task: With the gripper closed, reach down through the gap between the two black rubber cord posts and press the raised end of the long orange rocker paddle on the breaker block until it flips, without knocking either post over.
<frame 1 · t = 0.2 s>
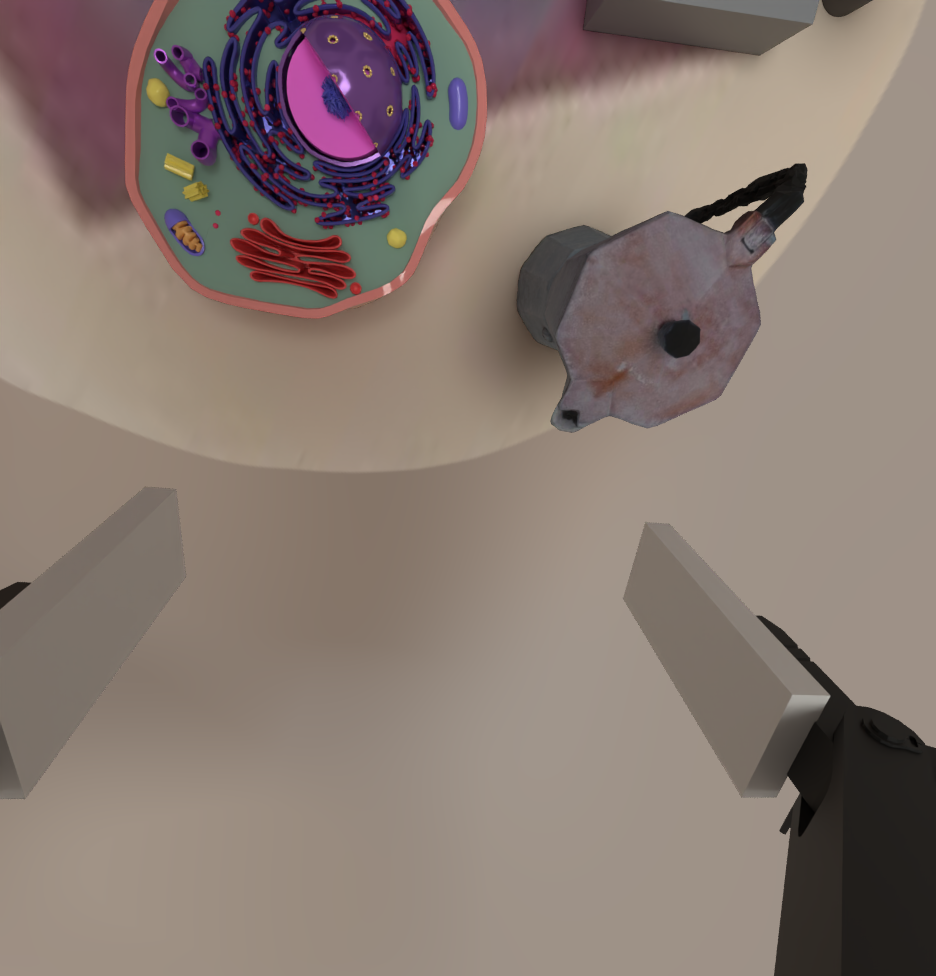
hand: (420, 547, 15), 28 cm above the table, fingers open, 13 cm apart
moka pot: (573, 286, 39), on the table
cell model: (327, 168, 35), on the table
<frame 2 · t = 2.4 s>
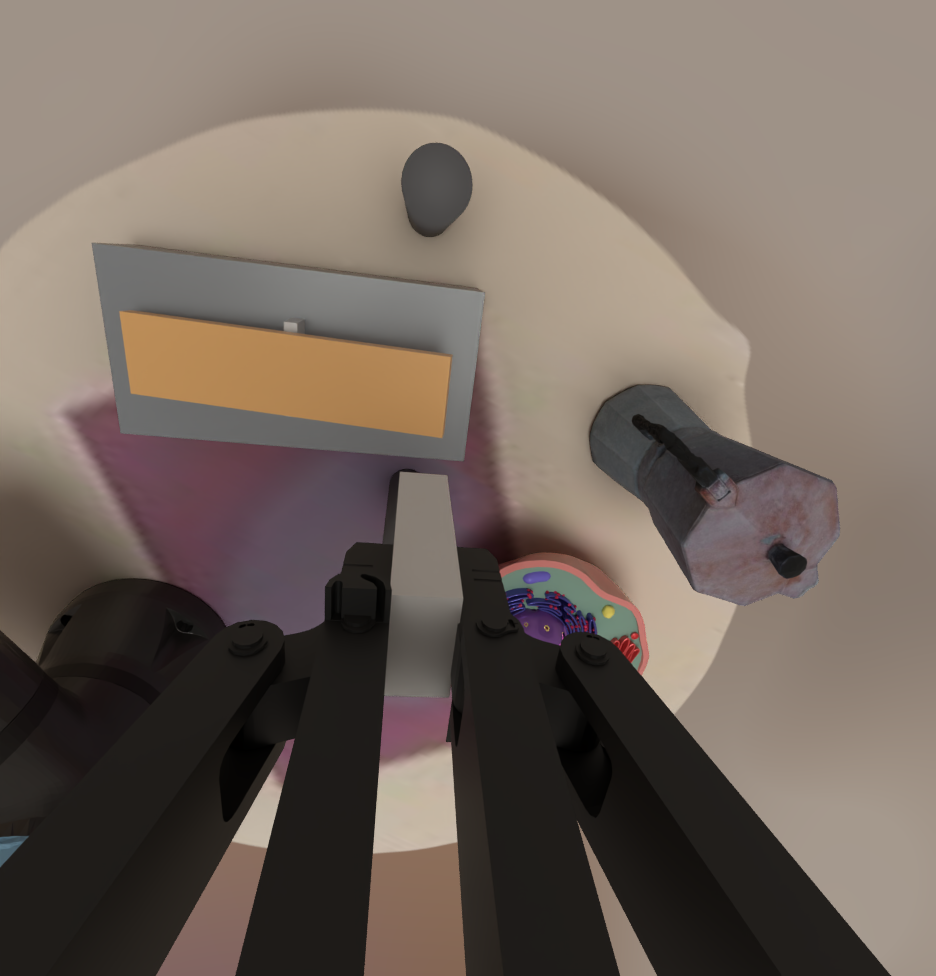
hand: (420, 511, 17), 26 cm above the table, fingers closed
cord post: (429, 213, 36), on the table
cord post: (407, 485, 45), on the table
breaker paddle: (287, 374, 32), point 8 cm above the table, hinge at -10.0°
moka pot: (632, 432, 45), on the table
breaker block: (312, 352, 40), on the table
cell model: (530, 599, 51), on the table
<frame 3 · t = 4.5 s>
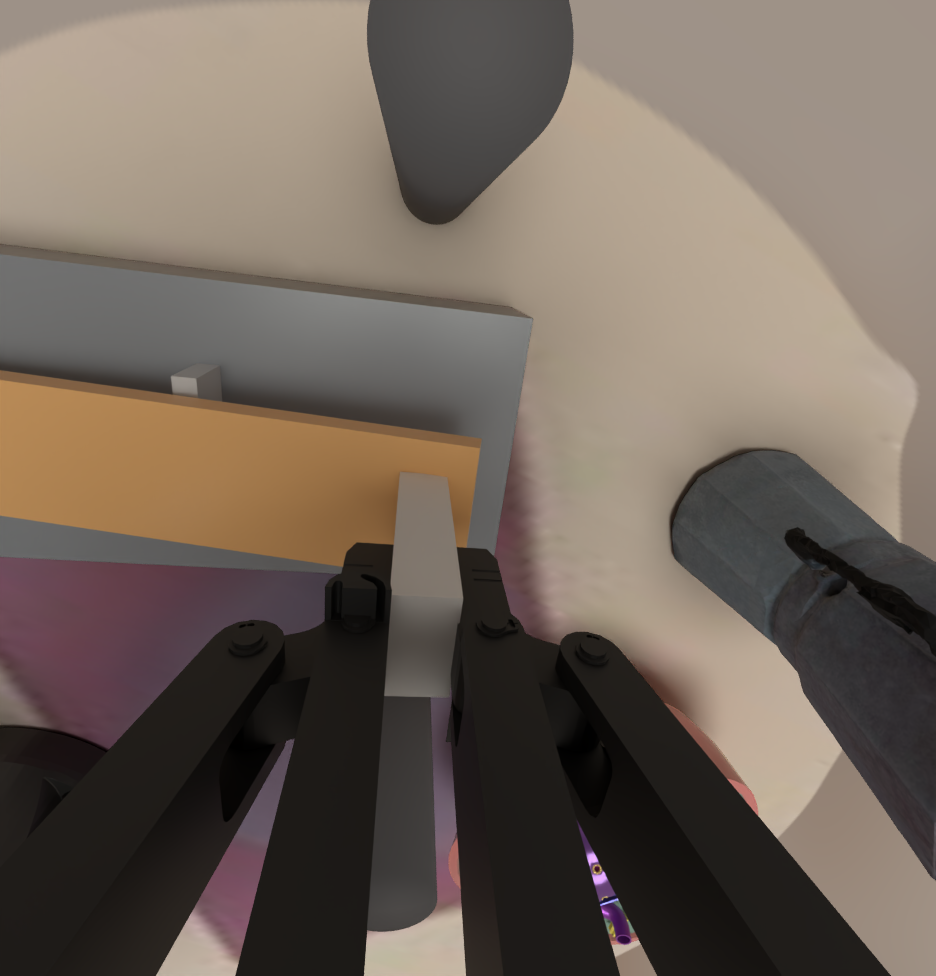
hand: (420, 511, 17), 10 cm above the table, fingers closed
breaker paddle: (180, 471, 18), point 8 cm above the table, hinge at -10.0°, touching gripper
moka pot: (732, 514, 31), on the table
breaker block: (250, 406, 25), on the table
cell model: (573, 733, 37), on the table
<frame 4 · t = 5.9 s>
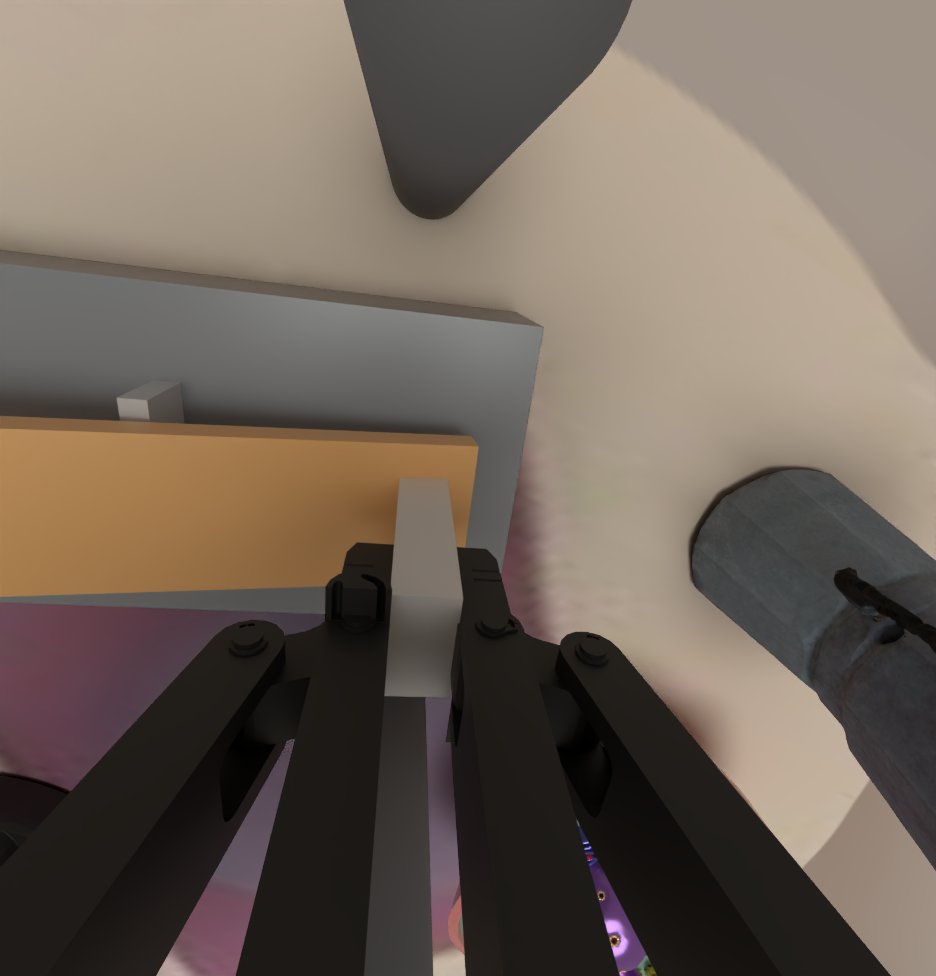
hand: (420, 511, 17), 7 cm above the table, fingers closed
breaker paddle: (129, 509, 15), point 8 cm above the table, hinge at 7.7°, touching gripper
moka pot: (757, 538, 28), on the table
breaker block: (224, 424, 22), on the table
cell model: (581, 769, 34), on the table
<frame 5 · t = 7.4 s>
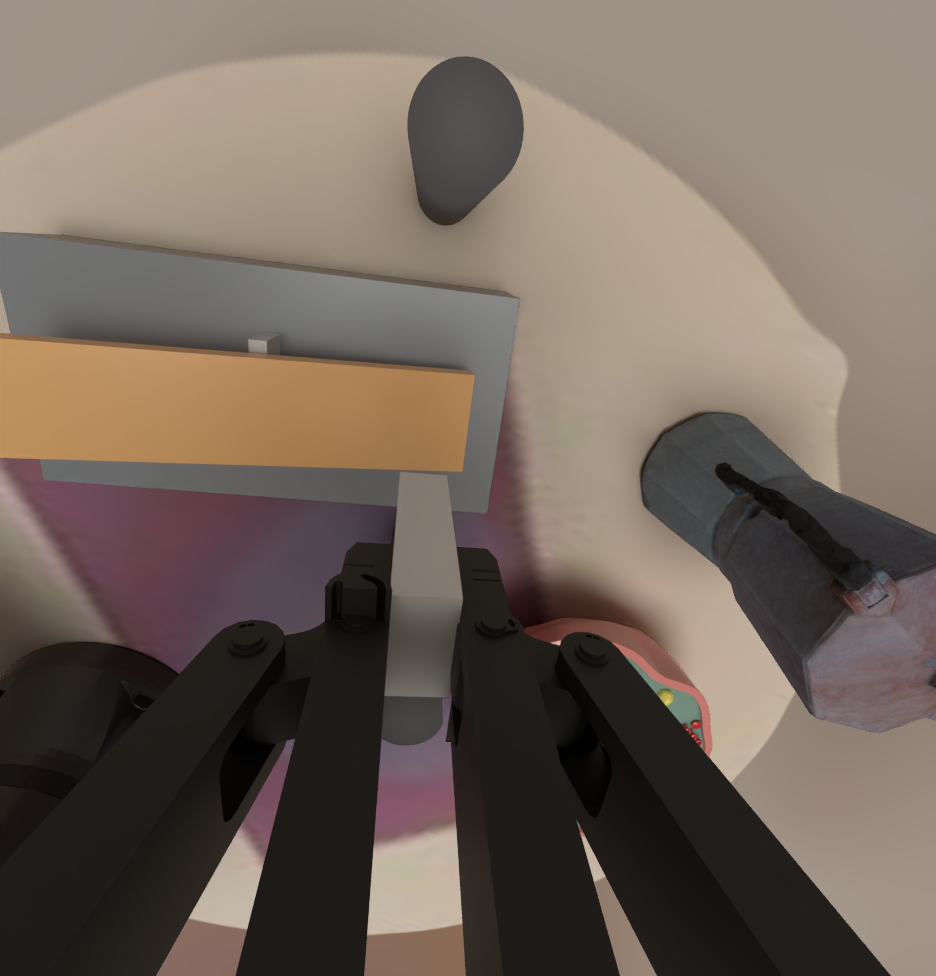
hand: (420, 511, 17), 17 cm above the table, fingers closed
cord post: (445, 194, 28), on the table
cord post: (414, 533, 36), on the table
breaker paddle: (253, 410, 24), point 8 cm above the table, hinge at 8.0°
moka pot: (694, 469, 36), on the table
breaker block: (295, 372, 31), on the table
cell model: (560, 663, 43), on the table
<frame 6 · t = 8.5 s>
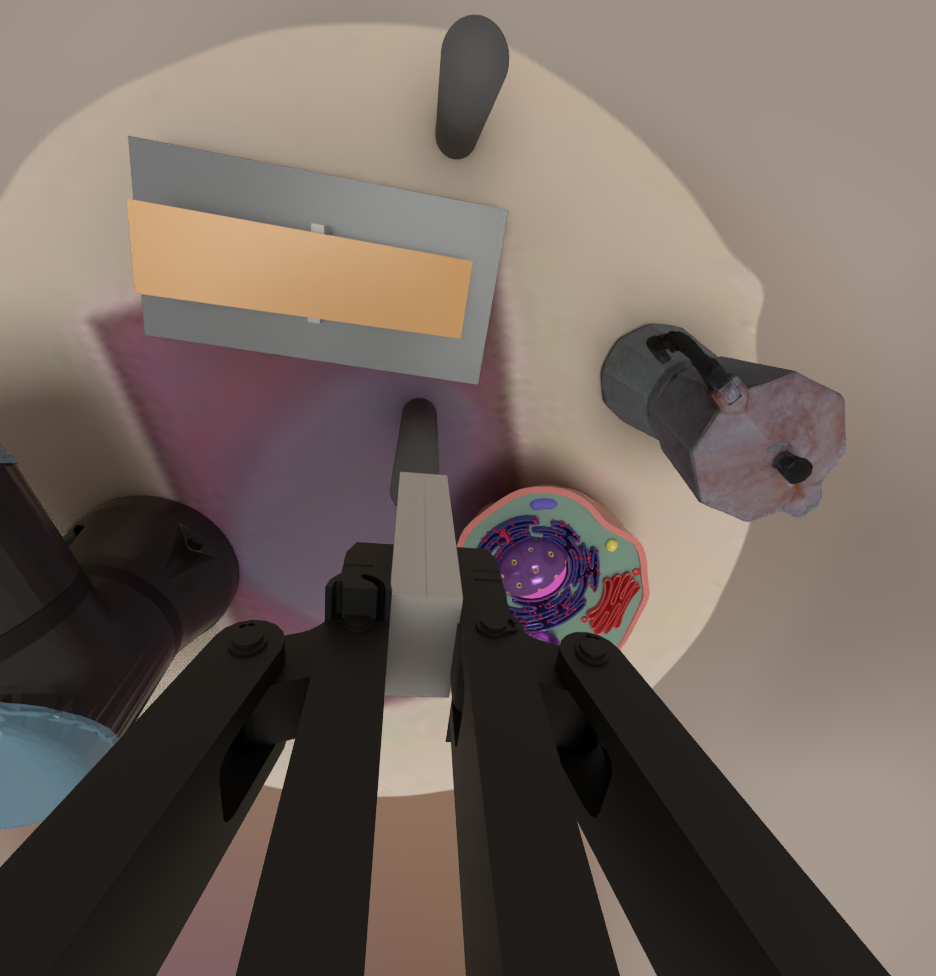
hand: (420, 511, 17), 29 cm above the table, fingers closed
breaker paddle: (312, 275, 33), point 8 cm above the table, hinge at 8.0°
moka pot: (643, 373, 46), on the table
breaker block: (334, 271, 40), on the table
cell model: (533, 541, 52), on the table
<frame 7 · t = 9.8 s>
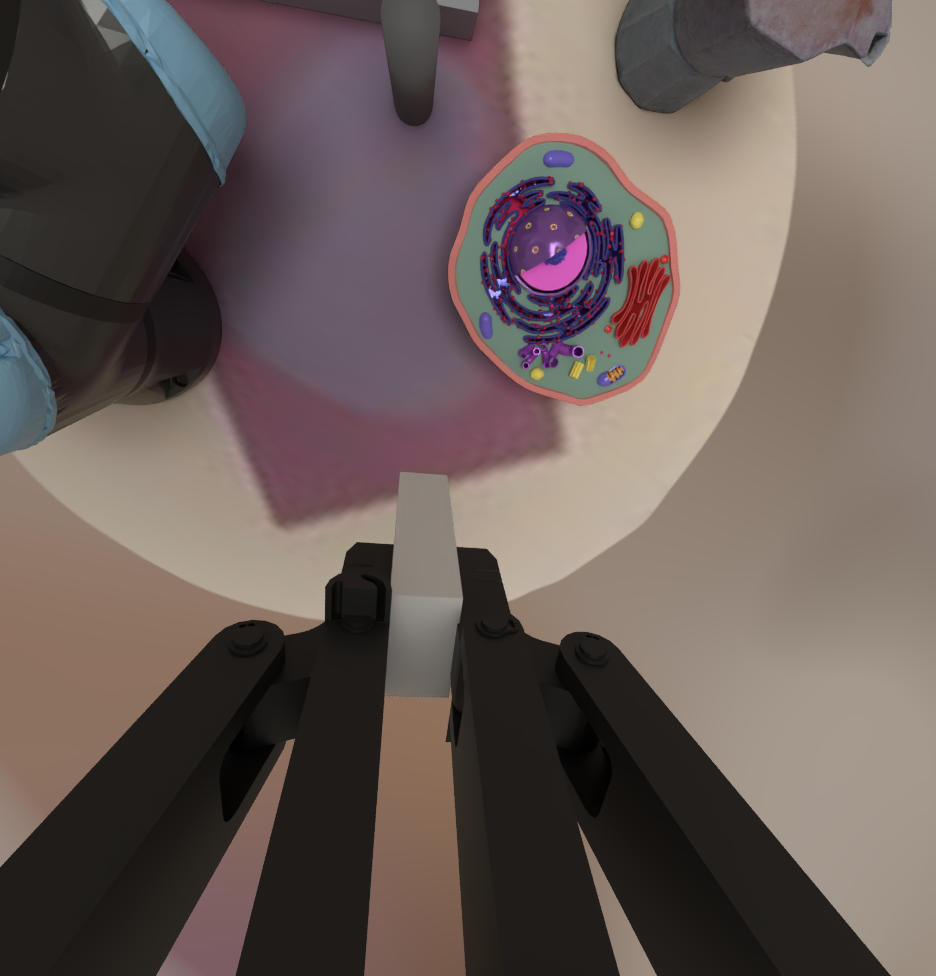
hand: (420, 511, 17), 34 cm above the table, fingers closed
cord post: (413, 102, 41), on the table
moka pot: (662, 46, 41), on the table
cell model: (546, 280, 47), on the table
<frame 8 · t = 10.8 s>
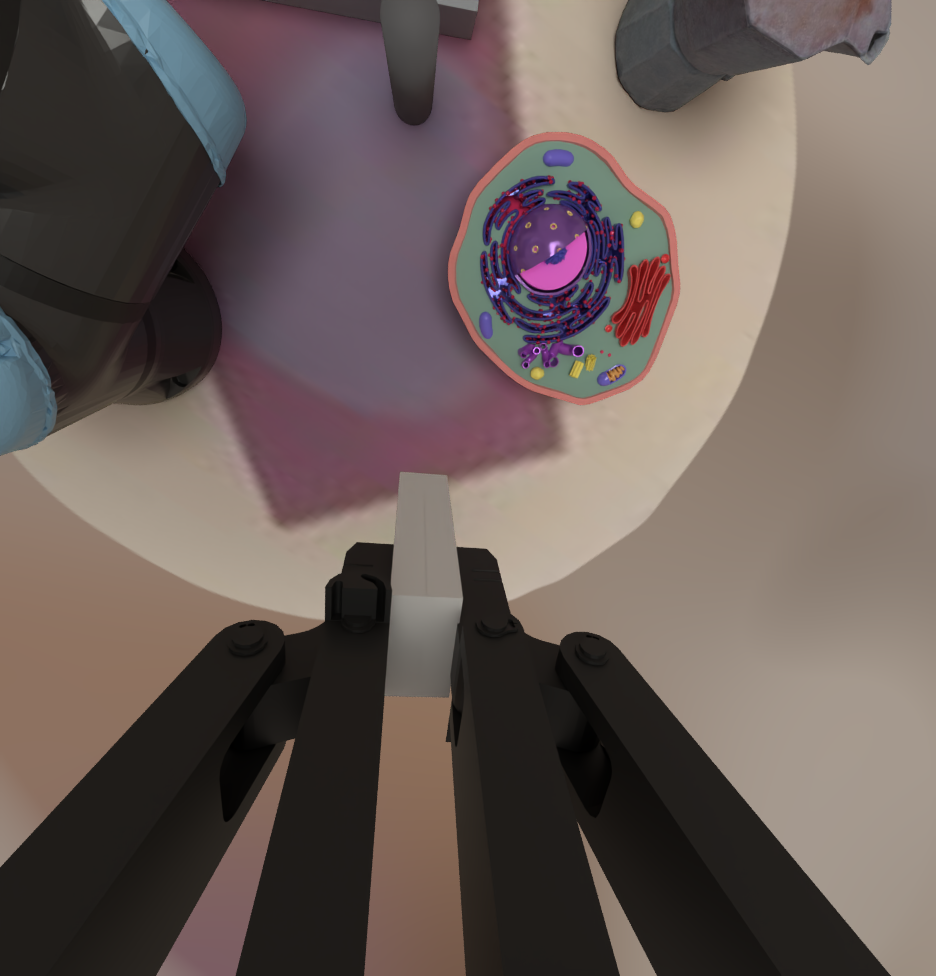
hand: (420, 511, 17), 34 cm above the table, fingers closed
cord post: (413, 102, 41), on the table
moka pot: (662, 44, 41), on the table
cell model: (546, 280, 47), on the table
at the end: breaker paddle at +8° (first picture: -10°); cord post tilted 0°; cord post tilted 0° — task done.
